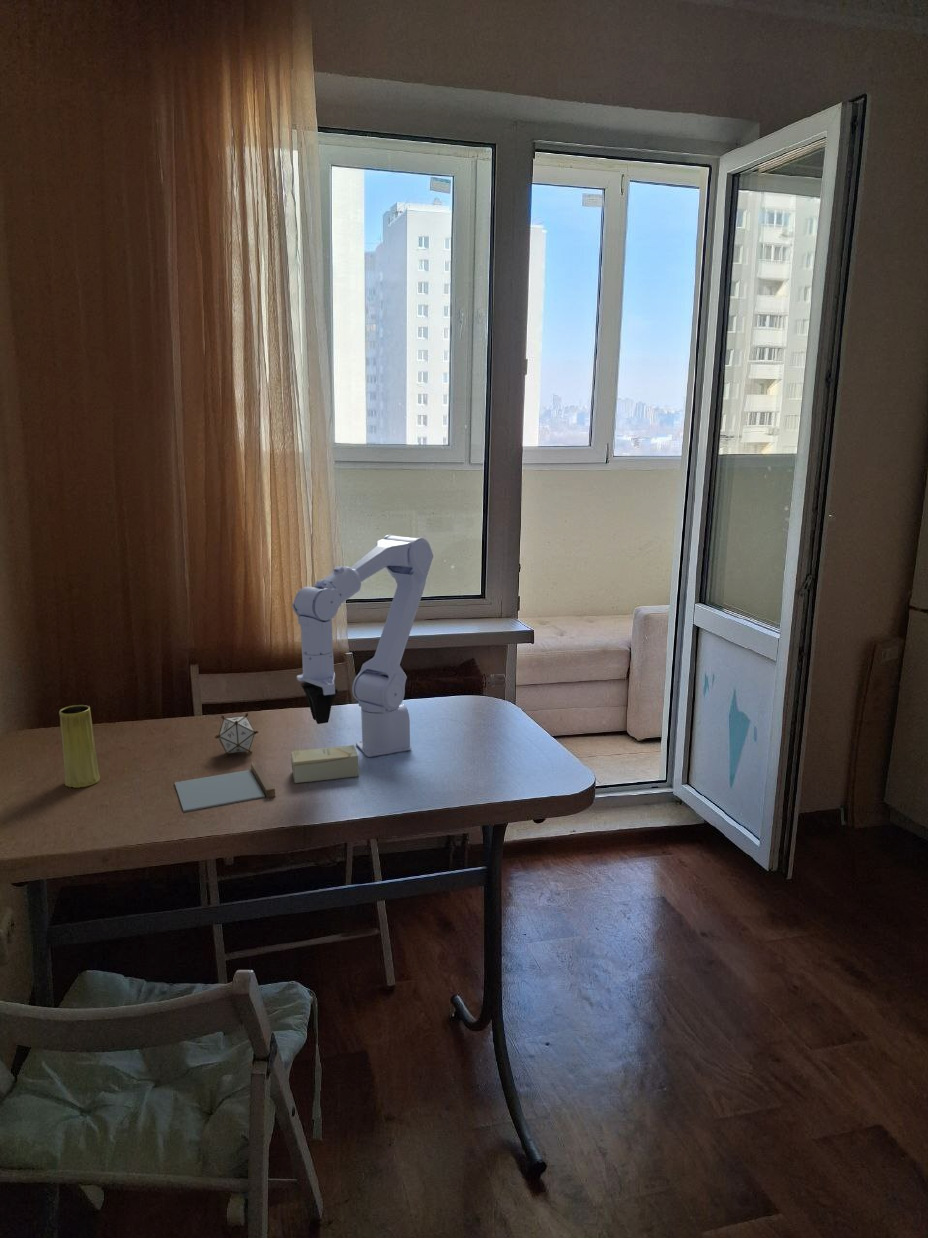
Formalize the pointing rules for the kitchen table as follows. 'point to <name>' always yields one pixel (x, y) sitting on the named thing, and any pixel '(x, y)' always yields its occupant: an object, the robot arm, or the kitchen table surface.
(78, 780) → the vase
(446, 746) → the kitchen table surface
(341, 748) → the skincare box
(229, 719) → the game die
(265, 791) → the walnut rail
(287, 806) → the kitchen table surface
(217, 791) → the felt mat
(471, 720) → the kitchen table surface
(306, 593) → the robot arm
